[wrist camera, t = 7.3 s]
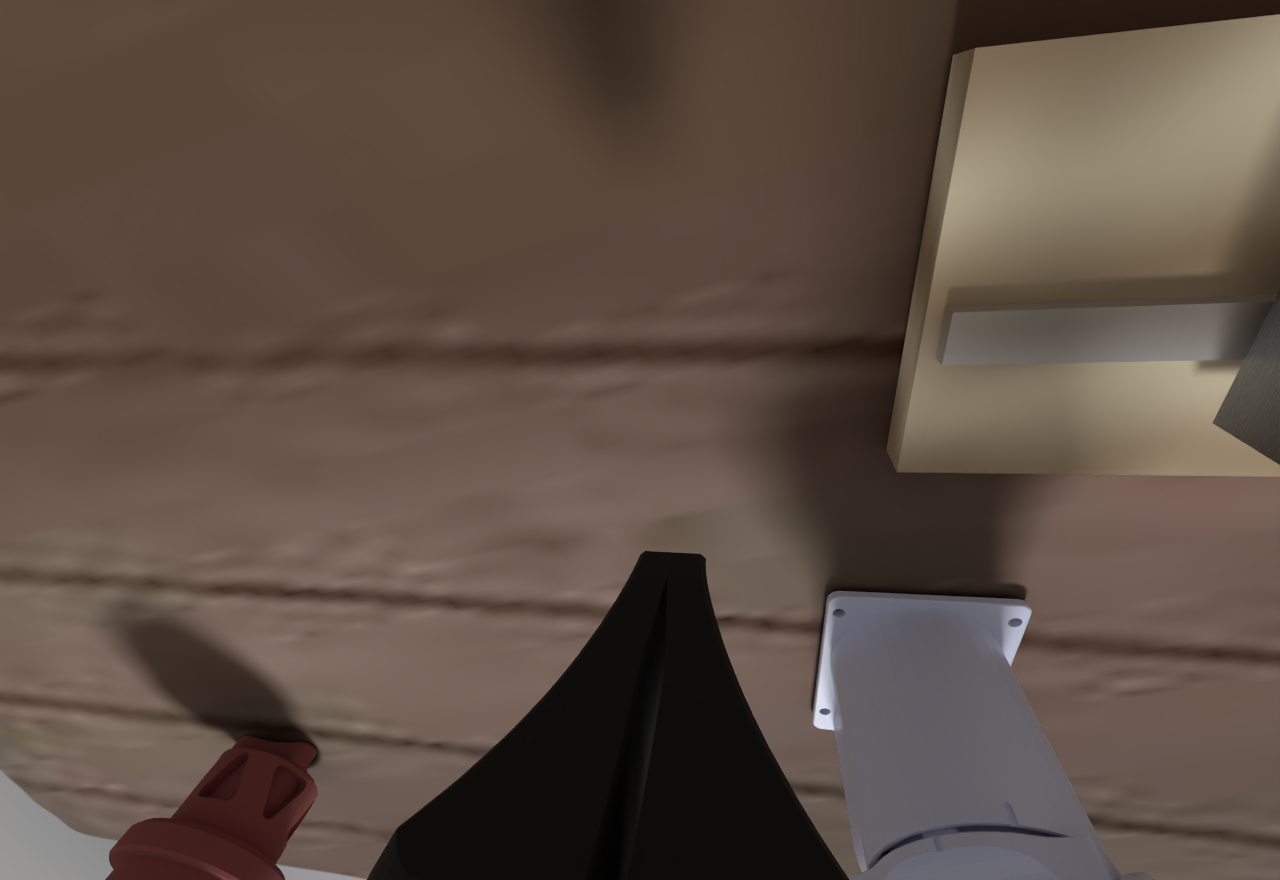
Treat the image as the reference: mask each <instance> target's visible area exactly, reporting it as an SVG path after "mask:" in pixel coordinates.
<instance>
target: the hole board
mask: <svg viewBox="0 0 1280 880" xmlns="http://www.w3.org/2000/svg"><path fill="white" fill-rule="evenodd" d="M1279 290H1280V14H1278V15H1269V16H1260V17H1251V18H1242V19H1233V20H1224V21H1215V22H1206V23H1197V24H1188V25H1179V26H1170V27H1161V28H1152V29H1143V30H1133V31H1124V32H1115V33H1106V34H1097V35H1088V36H1079V37H1070V38H1061V39H1052V40H1043V41H1034V42H1025V43H1016V44H1007V45H998V46H989V47H980V48H974V49H970V50H967V51H964V52H961V53H958V54H954V55H953V58H952V64H951V69H950V75H949V81H948V87H947V93H946V99H945V105H944V111H943V117H942V123H941V129H940V135H939V141H938V146H937V152H936V158H935V164H934V170H933V176H932V182H931V188H930V194H929V200H928V206H927V212H926V218H925V224H924V229H923V235H922V241H921V247H920V253H919V259H918V265H917V271H916V277H915V283H914V289H913V295H912V301H911V306H910V312H909V318H908V324H907V330H906V336H905V342H904V348H903V354H902V360H901V366H900V372H899V378H898V384H897V389H896V395H895V401H894V407H893V413H892V419H891V425H890V431H889V437H888V443H887V449H886V450H887V453H888V455H889V457H890V459H891V461H892V463H893V465H894V467H895V469H896V472H909V473H999V474H1090V475H1180V476H1270V477H1280V465H1279V464H1277V463H1276V462H1274V461H1272V460H1271V459H1269V458H1268V457H1266V456H1264V455H1263V454H1261V453H1260V452H1258V451H1256V450H1255V449H1253V448H1252V447H1250V446H1248V445H1247V444H1245V443H1243V442H1242V441H1240V440H1239V439H1237V438H1235V437H1234V436H1232V435H1231V434H1229V433H1227V432H1226V431H1224V430H1223V429H1221V428H1219V427H1218V426H1216V425H1215V424H1213V421H1214V419H1215V417H1216V415H1217V413H1218V411H1219V409H1220V407H1221V405H1222V403H1223V401H1224V399H1225V397H1226V395H1227V393H1228V391H1229V389H1230V387H1231V385H1232V383H1233V381H1234V379H1235V377H1236V375H1237V373H1238V371H1239V369H1240V367H1241V365H1242V363H1243V361H1244V359H1245V357H1246V355H1247V353H1248V351H1249V349H1250V347H1251V346H1252V344H1253V342H1254V340H1255V338H1256V336H1257V334H1258V332H1259V330H1260V328H1261V326H1262V324H1263V322H1264V320H1265V318H1266V316H1267V314H1268V312H1269V310H1270V308H1271V306H1272V304H1273V302H1274V300H1275V298H1276V296H1277V294H1278V292H1279Z"/></svg>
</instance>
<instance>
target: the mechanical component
mask: <svg viewBox="0 0 1280 880" xmlns="http://www.w3.org/2000/svg"><path fill="white" fill-rule="evenodd" d="M316 754H317V752H316V748H315V747H314V746H313V745H312V744H310V743H308V742H304V741H300V742H290V743H285V742H275V741H269V740H265V739H261V738H258V737H254V736H251V735H246V736H242V737H241V738H240V739H239V740H238V741H237V743H236V744H235V745H234V746H233V748H232V749H229V750H227V751H225V752H224V753H223V754H222V755H221V757H220V758H219V760H218V761H217V762H216V763H215V765H214V766H213V767H212V768H211V769H210V771H209V772H208V773H207V774H206V775H205V776H204V778H203V779H202V780H201V781H200V783H199V784H198V785H197V786H196V788H195V789H194V790H193V791H192V793H191V794H190V795H189V796H188V798H187V799H186V800H185V801H184V802H183V804H182V805H181V806H180V807H179V809H178V810H177V811H176V812H175V814H174V815H173V816H172V817H171V818H153V819H148V820H145V821H142V822H139V823H136V824H134V825H132V826H131V827H130V828H129V829H128V830H127V832H126V833H125V834H124V835H123V836H122V837H121V839H120V840H119V841H118V842H117V843H116V845H115V846H114V847H113V848H112V849H111V851H110V853H109V861H110V864H111V866H112V867H113V869H114V870H113V871H112V872H111V874H110V875H109V876H108V877H107V878H106V880H285V878H284V875H283V873H282V872H281V870H280V869H279V868H278V867H277V866H276V865H275V864H276V862H277V861H278V859H279V858H280V856H281V854H282V853H283V851H284V849H285V848H286V846H287V841H288V840H289V839H290V837H291V836H292V834H293V833H294V831H295V830H296V829H297V827H298V826H299V824H300V823H301V821H302V820H303V818H304V817H305V815H306V814H307V812H308V811H309V809H310V808H311V806H312V804H313V803H314V801H315V799H316V798H317V795H318V791H317V787H316V785H315V783H314V780H313V779H312V777H311V776H310V775H309V774H308V773H307V772H306V769H307V768H308V766H309V765H310V763H311V762H312V760H313V759H314V757H315V756H316Z"/></svg>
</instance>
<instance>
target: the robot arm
mask: <svg viewBox="0 0 1280 880" xmlns="http://www.w3.org/2000/svg"><path fill="white" fill-rule="evenodd" d="M836 609H841V610H838V611H836ZM1031 612H1032V610H1031V609H1030V607H1029V606H1028V604H1027V602H1025V601H1024V600H1020V599H1004V598H983V597H961V596H940V595H918V594H896V593H875V592H853V591H835V592H832V593H830V594H829V595H828V597H827V602H826V610H825V618H824V626H823V634H822V642H821V650H820V658H819V666H818V674H817V682H816V690H815V698H814V706H813V714H812V719H813V724H814V725H815V726H816V727H817V728H820V729H828V730H834V733H835V739H836V745H837V751H838V757H839V763H840V768H841V774H842V780H843V786H844V792H845V798H846V804H847V810H848V816H849V822H850V828H851V834H852V840H853V845H854V850H855V853H856V857H857V860H858V863H859V866H860V868H861V871H862V873H859V874H854V875H851V876H850V877H849V879H848V877H847V876H846V874H845V873H844V871H843V870H842V868H841V867H840V865H839V864H838V862H837V861H836V859H835V858H834V856H833V855H832V853H831V851H830V850H829V848H828V847H827V845H826V844H825V842H824V841H823V839H822V838H821V836H820V834H819V833H818V831H817V830H816V828H815V826H814V825H813V823H812V821H811V820H810V818H809V817H808V815H807V813H806V812H805V810H804V808H803V807H802V805H801V803H800V802H799V800H798V798H797V797H796V795H795V793H794V791H793V790H792V788H791V786H790V784H789V782H788V781H787V779H786V777H785V775H784V773H783V772H782V770H781V768H780V766H779V764H778V763H777V761H776V759H775V757H774V755H773V754H772V752H771V750H770V748H769V746H768V744H767V742H766V740H765V738H764V736H763V734H762V732H761V730H760V728H759V726H758V724H757V722H756V720H755V718H754V716H753V714H752V712H751V710H750V707H749V705H748V703H747V701H746V699H745V696H744V694H743V692H742V689H741V687H740V685H739V682H738V680H737V677H736V675H735V673H734V670H733V667H732V665H731V662H730V660H729V657H728V654H727V651H726V649H725V646H724V643H723V640H722V637H721V634H720V630H719V627H718V624H717V621H716V618H715V614H714V610H713V607H712V603H711V598H710V594H709V589H708V584H707V577H706V558H704V557H703V556H702V555H701V554H690V553H671V552H652V551H645V552H643V553H642V554H641V555H640V557H639V559H638V561H637V563H636V565H635V567H634V569H633V571H632V573H631V575H630V577H629V579H628V581H627V582H626V584H625V586H624V588H623V589H622V591H621V593H620V594H619V596H618V598H617V599H616V601H615V603H614V604H613V606H612V607H611V609H610V610H609V612H608V613H607V615H606V616H605V618H604V620H603V621H602V623H601V624H600V626H599V627H598V629H597V630H596V631H595V633H594V634H593V635H592V637H591V638H590V640H589V641H588V642H587V644H586V645H585V646H584V648H583V649H582V650H581V652H580V653H579V655H578V656H577V657H576V658H575V660H574V661H573V662H572V664H571V665H570V666H569V667H568V669H567V670H566V671H565V672H564V673H563V675H562V676H561V677H560V678H559V679H558V681H557V682H556V683H555V684H554V685H553V686H552V688H551V689H550V690H549V691H548V692H547V693H546V694H545V696H544V697H543V698H542V699H541V700H540V701H539V702H538V703H537V704H536V705H535V706H534V707H533V708H532V709H531V711H530V712H529V713H528V714H527V715H526V716H525V717H524V718H523V719H522V720H521V721H520V722H519V723H518V724H517V725H516V726H515V727H514V728H513V729H512V730H511V731H510V732H509V733H508V734H507V735H506V736H505V737H504V738H503V739H502V740H501V741H500V742H499V743H498V744H496V745H495V746H494V747H493V748H492V749H491V750H490V751H489V752H488V753H487V754H486V755H484V756H483V757H482V758H481V759H480V760H479V761H478V762H477V763H476V764H475V765H473V766H472V767H471V768H470V769H469V770H468V771H467V772H466V773H465V774H464V775H462V776H461V777H460V778H459V779H458V780H456V781H455V782H454V783H453V784H452V785H451V786H449V787H448V788H447V789H446V790H444V791H443V792H442V793H441V794H439V795H438V796H437V797H436V798H434V799H433V800H432V801H431V802H429V803H428V804H427V805H426V806H424V807H423V808H422V809H421V810H419V811H418V812H417V813H416V814H414V815H413V816H412V817H411V818H409V819H408V820H407V821H405V822H404V823H403V824H402V825H400V826H399V827H398V828H397V829H396V831H395V833H394V834H393V836H392V837H391V839H390V841H389V842H388V844H387V846H386V847H385V849H384V851H383V852H382V854H381V856H380V857H379V859H378V861H377V863H376V864H375V866H374V868H373V869H372V871H371V873H370V875H369V877H368V879H367V880H1154V879H1153V878H1152V877H1151V876H1149V875H1148V874H1146V873H1143V872H1136V873H1129V874H1123V876H1122V874H1121V873H1120V872H1119V871H1118V870H1117V868H1116V867H1115V866H1114V865H1113V863H1112V862H1111V861H1110V859H1109V857H1108V855H1107V853H1106V851H1105V850H1104V848H1103V846H1102V844H1101V842H1100V840H1099V838H1098V836H1097V834H1096V832H1095V830H1094V828H1093V826H1092V824H1091V822H1090V820H1089V818H1088V816H1087V815H1086V813H1085V811H1084V809H1083V807H1082V805H1081V803H1080V801H1079V799H1078V797H1077V795H1076V793H1075V791H1074V789H1073V787H1072V785H1071V783H1070V781H1069V780H1068V778H1067V776H1066V774H1065V772H1064V770H1063V768H1062V766H1061V764H1060V762H1059V760H1058V758H1057V756H1056V754H1055V752H1054V750H1053V748H1052V747H1051V745H1050V743H1049V741H1048V739H1047V737H1046V735H1045V733H1044V731H1043V729H1042V727H1041V725H1040V723H1039V721H1038V719H1037V717H1036V715H1035V713H1034V712H1033V710H1032V708H1031V706H1030V704H1029V702H1028V700H1027V698H1026V696H1025V694H1024V692H1023V690H1022V688H1021V686H1020V684H1019V682H1018V680H1017V678H1016V677H1015V675H1014V673H1013V671H1012V669H1011V664H1012V662H1013V659H1014V657H1015V654H1016V652H1017V649H1018V647H1019V644H1020V642H1021V639H1022V637H1023V634H1024V631H1025V629H1026V626H1027V624H1028V621H1029V619H1030V616H1031ZM1014 618H1015V619H1014Z"/></svg>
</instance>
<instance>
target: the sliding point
mask: <svg viewBox="0 0 1280 880" xmlns="http://www.w3.org/2000/svg"><path fill="white" fill-rule="evenodd" d="M1213 424H1215V425H1216V426H1218V427H1219V428H1221V429H1223V430H1224V431H1226V432H1227V433H1229V434H1231V435H1232V436H1234V437H1235V438H1237V439H1239V440H1240V441H1242V442H1243V443H1245V444H1247V445H1248V446H1250V447H1252V448H1253V449H1255V450H1256V451H1258V452H1260V453H1261V454H1263V455H1264V456H1266V457H1268V458H1269V459H1271V460H1272V461H1274V462H1276V463H1277V464H1279V465H1280V290H1279V292H1278V294H1277V296H1276V298H1275V300H1274V302H1273V304H1272V306H1271V308H1270V310H1269V312H1268V314H1267V316H1266V318H1265V320H1264V322H1263V324H1262V326H1261V328H1260V330H1259V332H1258V334H1257V336H1256V338H1255V340H1254V342H1253V344H1252V346H1251V347H1250V349H1249V351H1248V353H1247V355H1246V357H1245V359H1244V361H1243V363H1242V365H1241V367H1240V369H1239V371H1238V373H1237V375H1236V377H1235V379H1234V381H1233V383H1232V385H1231V387H1230V389H1229V391H1228V393H1227V395H1226V397H1225V399H1224V401H1223V403H1222V405H1221V407H1220V409H1219V411H1218V413H1217V415H1216V417H1215V419H1214V421H1213Z"/></svg>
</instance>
